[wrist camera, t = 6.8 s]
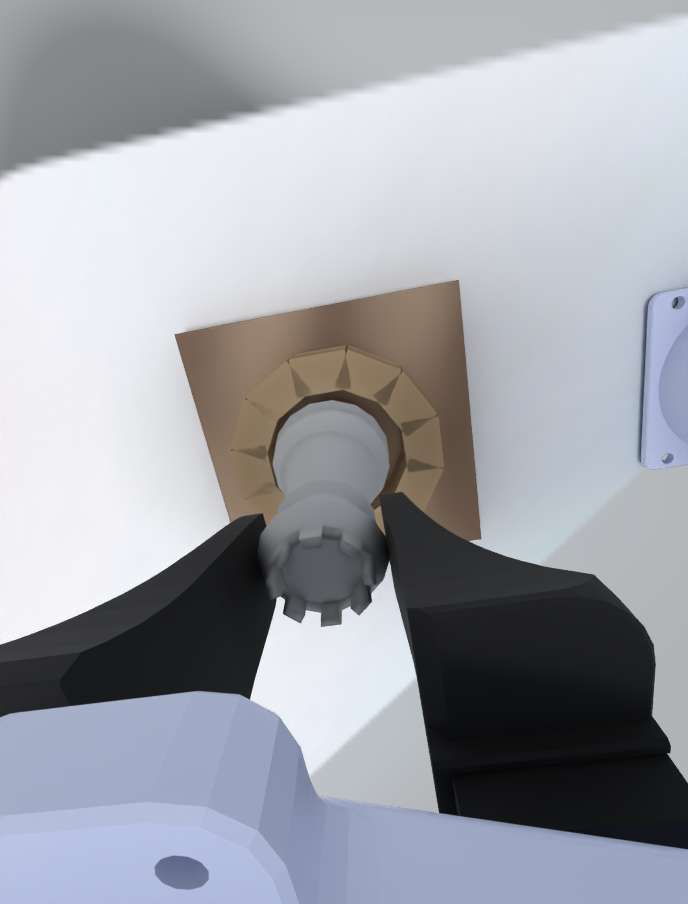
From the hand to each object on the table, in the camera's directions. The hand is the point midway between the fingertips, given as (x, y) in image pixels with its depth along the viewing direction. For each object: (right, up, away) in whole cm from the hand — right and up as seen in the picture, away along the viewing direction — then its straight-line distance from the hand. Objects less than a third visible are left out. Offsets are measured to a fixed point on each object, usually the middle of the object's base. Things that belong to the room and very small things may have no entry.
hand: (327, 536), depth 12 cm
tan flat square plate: (0, +3, +9) cm, 9 cm away
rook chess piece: (0, +2, +5) cm, 6 cm away
